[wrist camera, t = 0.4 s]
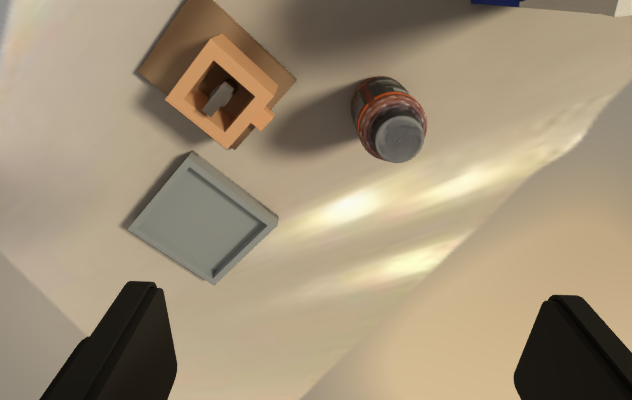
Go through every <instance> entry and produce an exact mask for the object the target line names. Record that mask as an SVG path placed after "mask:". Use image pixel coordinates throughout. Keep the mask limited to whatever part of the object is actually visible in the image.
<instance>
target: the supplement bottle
mask: <svg viewBox="0 0 632 400" xmlns="http://www.w3.org/2000/svg"><path fill="white" fill-rule="evenodd" d="M351 113H352V117H353V120H354V123H355V126H356V129H357V133H358V136H359V138H360V141H361V143H362V145H363V146H364V148H365V149H366V150H367V151H368V153H370V154H371V155H372V156H374V157H376V158H378V159H381V160H384V161H389V162H393V163H402V162H406V161H408V160H410V159H412V158H413V157H415V156H416V155H417V154H418V153H419V151H420V150H421V148H422V146H423V143H424V138H425V135H426V131H427V119H426V115H425V112H424V110H423V109H422V107H421V105H420V104H419V103H418V102H417V101H416V100H415V99H414V98H413V97H412V96H411V95H410V93H409V92H408V91H407V90H406V89H405V88H404V87H403V86H402V85H401V84H400V83H399V82H397V81H396V80H394V79H392V78H389V77H384V76H378V77H373V78H370V79H368V80H366V81H365V82H363V83H362V84H361V85H360V86H359V87H358V88H357V89H356V91H355V93H354V95H353V98H352V101H351Z"/></svg>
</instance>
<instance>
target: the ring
mask: <svg viewBox="0 0 632 400" xmlns="http://www.w3.org/2000/svg"><path fill="white" fill-rule="evenodd" d="M216 63H218V64H219V65H220V66H221V67H222V68H223V69H224V70H226V71H227V72H228V73H229V74H230V75H231V76H232V77H234V78H235V79H236V80H237V81H238V82H239V83H240V84H241V85H243V86H244V87H245V88H246V89H247V90H248V91H249V92H251V93H252V94H253V95H254V96H253V97H252V98H251V99H250V100H249V102H248V103H247V104H246V105H245V106H244V107H243V109H242V110H241V111H240V112H239V113H238V114H237V116H236V117H235V118H232V117H231V116H230V115H229V114H228V113H226V112H225V111H224V110H223V109H222V108H220V107H219V108H218V110H217V111H216V112H215V113H214V114H213V116H212V117H210V116H208V115H207V114H206V113H205V112H203V111H202V109H203V108H204V106H205V105H206V104H207V103H208V101H209V100H210V98H209V97H207V96H206V95H205V94H204V93H203V92H201V91H200V90H199V89H198V87H199V85H200V84H201V83H202V81H203V80H204V79H205V78H206V76H207V75H208V74H209V72H210V71H211V70H212V68H213V67H214V66H215V65H216ZM278 86H279V85H278V84H277V83H275V82H274V81H273V80H272V79H271V78H270V77H269V76H268V75H267V74H266V73H265V72H263V71H262V70H261V69H260V68H259V67H258V66H257V65H256V64H255V63H254V62H253V61H251V60H250V59H249V58H248V57H247V56H246V55H245V54H244V53H243V52H242V51H241V50H239V49H238V48H237V47H236V46H235V45H234V44H233V43H232V42H231V41H230V40H229V39H227V38H226V37H225V36H224V35H223V34H220V35H218V36H215V37H213V38H211V39H210V40H209V41H208V43H207V44H206V45H205V47H204V48H203V49H202V51H201V52H200V53H199V55H198V56H197V57H196V59H195V60H194V61H193V63H192V64H191V65H190V67H189V68H188V69H187V71H186V72H185V74H184V75H183V76H182V78H181V79H180V80H179V82H178V83H177V84H176V86H175V87H174V88H173V90H172V91H171V92H170V94H169V95H168V96H167V98H166V99H165V100H166V101H167V102H168V103H170V104H171V105H172V106H173V107H175V108H176V109H177V110H178V111H180V112H181V113H182V114H183V115H185V116H186V117H187V118H188V119H190V120H191V121H192V122H193V123H195V124H196V125H197V126H198V127H200V128H201V129H202V130H203V131H205V132H206V133H207V134H208V135H210V136H211V137H212V138H213V139H215V140H216V141H217V142H218V143H220V144H221V145H222V146H223V147H225V148H226V149H228V148H229V147H230V146H231V145H232V144H233V143H234V141H235V140H236V139H237V138H238V137H239V136H240V135H241V133H242V132H243V131H244V130H245V129H246V128H247V127H248V125H249V124H250V123H252V124H253V125H254V126H255V127H257V128H258V129H259V130H260V131H262V130H263V129H264V127H265V126H266V125H267V124H268V123H269V122H270V121H271V120H272V119H273V117H274V115H275V114H274V113H273V112H272V111H271V110H270V109H268V108H267V107H266V105H267V104H268V103H269V101H270V100H271V99H272V98H273V97H274V95H275V93H276V91H277V88H278Z"/></svg>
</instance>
